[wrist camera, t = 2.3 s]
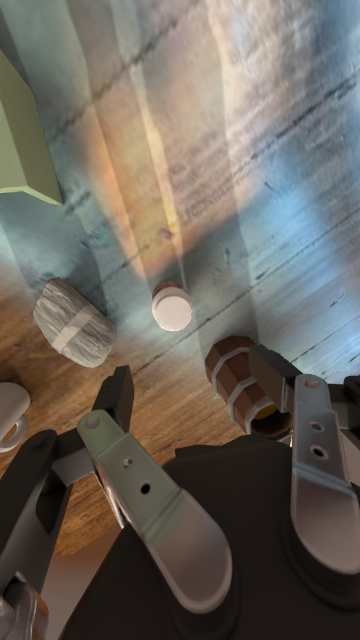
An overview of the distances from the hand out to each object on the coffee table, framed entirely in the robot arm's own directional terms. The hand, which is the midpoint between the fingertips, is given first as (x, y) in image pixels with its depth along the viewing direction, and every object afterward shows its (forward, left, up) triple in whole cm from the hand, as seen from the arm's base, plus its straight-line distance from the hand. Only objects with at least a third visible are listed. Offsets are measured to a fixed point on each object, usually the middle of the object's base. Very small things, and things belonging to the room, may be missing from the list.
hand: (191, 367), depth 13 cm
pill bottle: (0, 0, -22) cm, 22 cm away
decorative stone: (-2, +15, -22) cm, 27 cm away
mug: (-17, -12, -22) cm, 30 cm away
